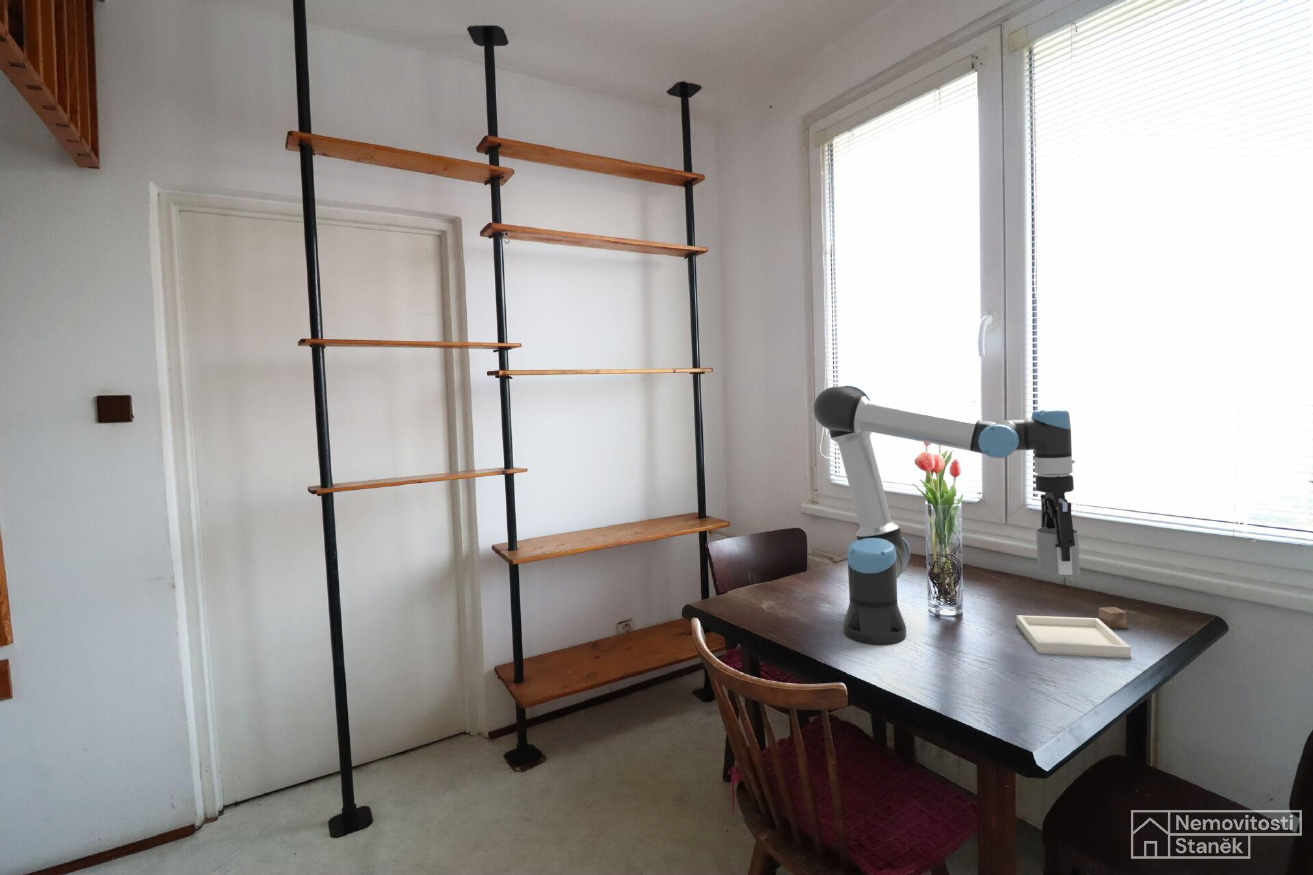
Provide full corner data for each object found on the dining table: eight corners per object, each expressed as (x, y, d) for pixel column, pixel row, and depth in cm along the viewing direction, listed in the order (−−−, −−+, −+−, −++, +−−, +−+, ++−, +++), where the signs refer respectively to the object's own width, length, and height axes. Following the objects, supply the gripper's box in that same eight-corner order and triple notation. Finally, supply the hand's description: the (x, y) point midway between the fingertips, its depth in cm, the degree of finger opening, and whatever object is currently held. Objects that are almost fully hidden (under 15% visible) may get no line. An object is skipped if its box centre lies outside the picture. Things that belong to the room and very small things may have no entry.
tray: (1038, 653, 141) (1037, 642, 141) (1016, 624, 158) (1016, 615, 158) (1130, 658, 136) (1130, 647, 136) (1098, 628, 153) (1097, 618, 153)
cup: (1086, 576, 142) (1084, 533, 142) (1047, 577, 144) (1044, 535, 143) (1070, 567, 150) (1068, 526, 150) (1032, 567, 152) (1030, 527, 151)
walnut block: (1110, 628, 153) (1110, 613, 152) (1099, 623, 157) (1098, 607, 156) (1126, 628, 152) (1126, 612, 152) (1115, 622, 156) (1115, 606, 156)
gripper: (1089, 479, 135) (1094, 581, 136) (1057, 468, 155) (1061, 557, 156) (1050, 481, 137) (1055, 581, 138) (1023, 469, 157) (1028, 557, 158)
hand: (1058, 568), depth 147 cm, fingers closed on cup, 8 cm apart
